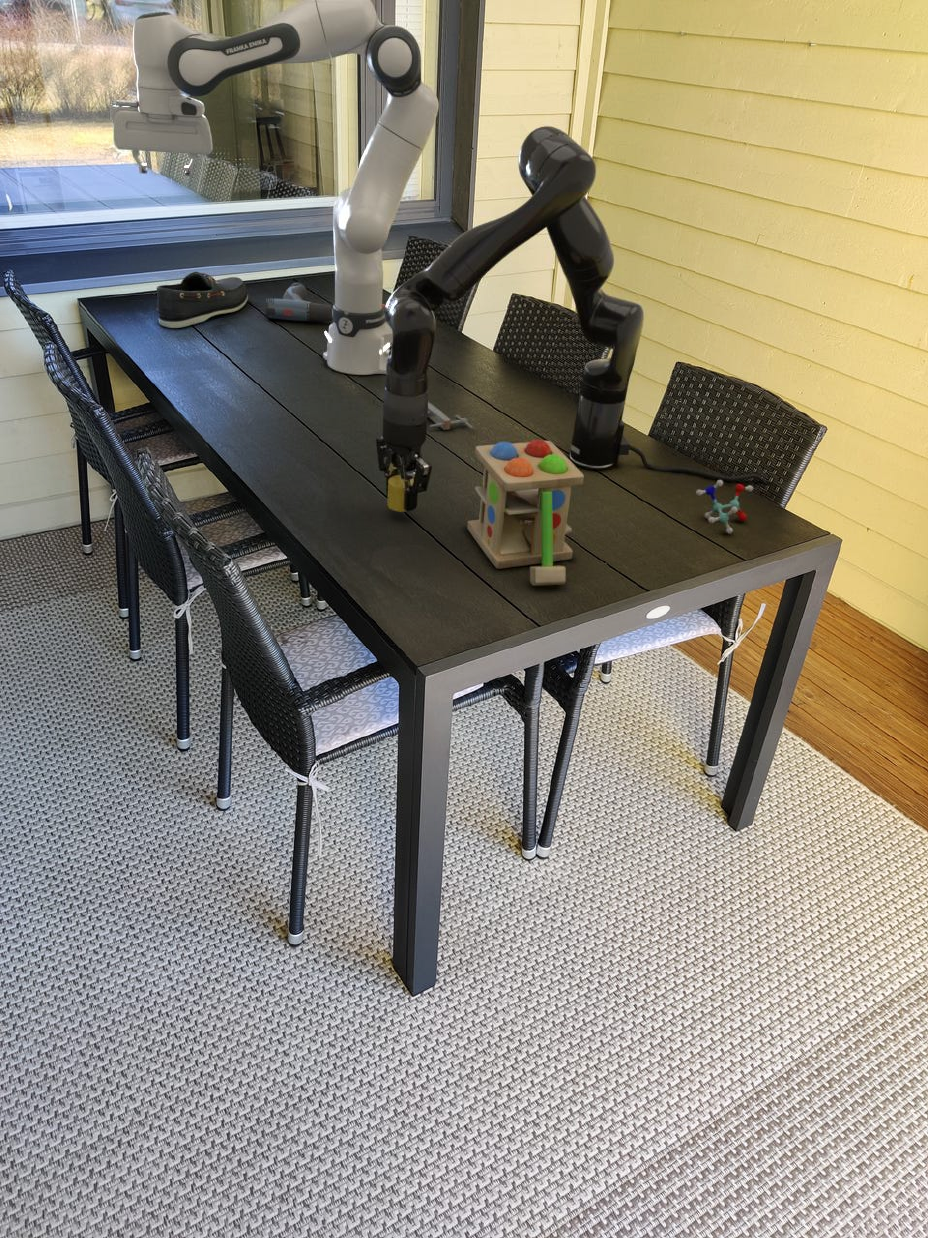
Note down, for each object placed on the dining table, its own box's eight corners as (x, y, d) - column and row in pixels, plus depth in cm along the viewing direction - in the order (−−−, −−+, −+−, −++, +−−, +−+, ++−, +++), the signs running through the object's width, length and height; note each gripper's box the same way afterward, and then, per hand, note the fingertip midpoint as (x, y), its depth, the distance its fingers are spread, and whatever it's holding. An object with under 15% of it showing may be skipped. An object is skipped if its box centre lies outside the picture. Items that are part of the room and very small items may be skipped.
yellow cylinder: (405, 514, 173) (406, 490, 170) (382, 506, 175) (382, 482, 172) (419, 503, 176) (421, 479, 174) (396, 496, 178) (397, 472, 175)
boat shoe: (266, 306, 270) (264, 267, 265) (176, 330, 246) (172, 288, 241) (231, 297, 276) (229, 259, 270) (140, 320, 252) (135, 279, 246)
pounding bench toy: (594, 585, 162) (612, 488, 152) (515, 596, 157) (528, 496, 147) (538, 519, 179) (551, 428, 169) (466, 527, 175) (475, 434, 165)
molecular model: (759, 527, 176) (743, 474, 175) (707, 542, 180) (691, 490, 179) (762, 518, 187) (747, 467, 185) (712, 532, 190) (698, 483, 189)
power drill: (344, 304, 276) (335, 327, 259) (277, 298, 275) (264, 321, 258) (344, 285, 273) (335, 306, 256) (277, 279, 272) (264, 300, 255)
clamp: (402, 403, 214) (442, 397, 219) (402, 412, 215) (442, 407, 220) (435, 430, 204) (476, 423, 208) (434, 439, 205) (475, 433, 209)
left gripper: (106, 101, 200) (114, 174, 207) (209, 107, 203) (213, 179, 211) (109, 96, 205) (117, 168, 212) (210, 103, 208) (214, 173, 216)
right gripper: (363, 403, 168) (361, 491, 178) (412, 434, 159) (407, 525, 169) (399, 395, 172) (395, 482, 182) (448, 425, 163) (442, 514, 173)
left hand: (166, 174), depth 212 cm, fingers open, 8 cm apart
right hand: (401, 502), depth 175 cm, fingers closed on yellow cylinder, 5 cm apart
